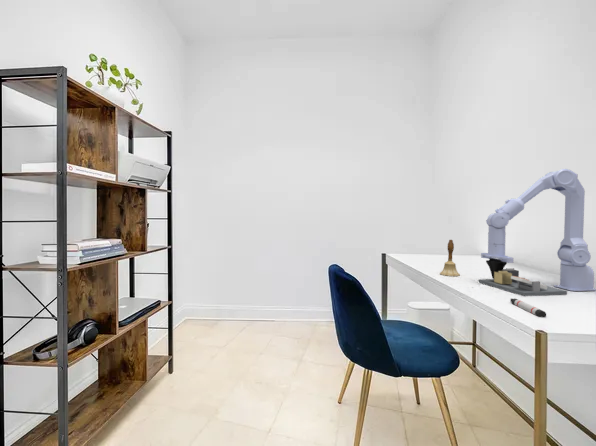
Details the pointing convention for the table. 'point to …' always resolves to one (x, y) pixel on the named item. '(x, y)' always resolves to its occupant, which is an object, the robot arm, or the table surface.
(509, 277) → the brass slider
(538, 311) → the marker
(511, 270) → the black slider
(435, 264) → the table surface
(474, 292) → the table surface
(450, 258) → the hand bell
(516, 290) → the panel
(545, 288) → the rocker
